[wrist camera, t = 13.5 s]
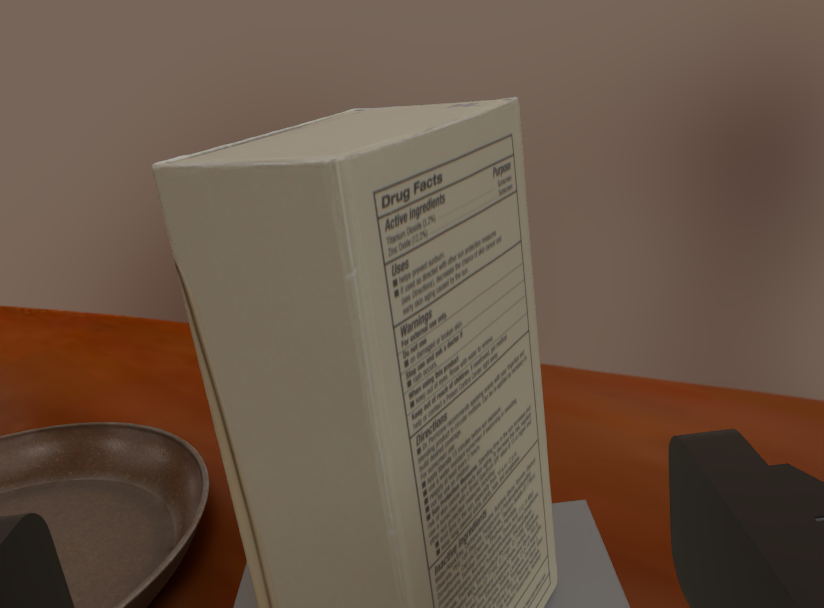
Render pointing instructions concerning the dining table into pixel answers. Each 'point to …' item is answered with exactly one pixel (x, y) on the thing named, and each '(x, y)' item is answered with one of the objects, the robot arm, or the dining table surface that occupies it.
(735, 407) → the dining table surface
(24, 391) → the dining table surface
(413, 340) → the skincare box
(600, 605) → the block
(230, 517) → the dining table surface
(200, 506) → the plant saucer
